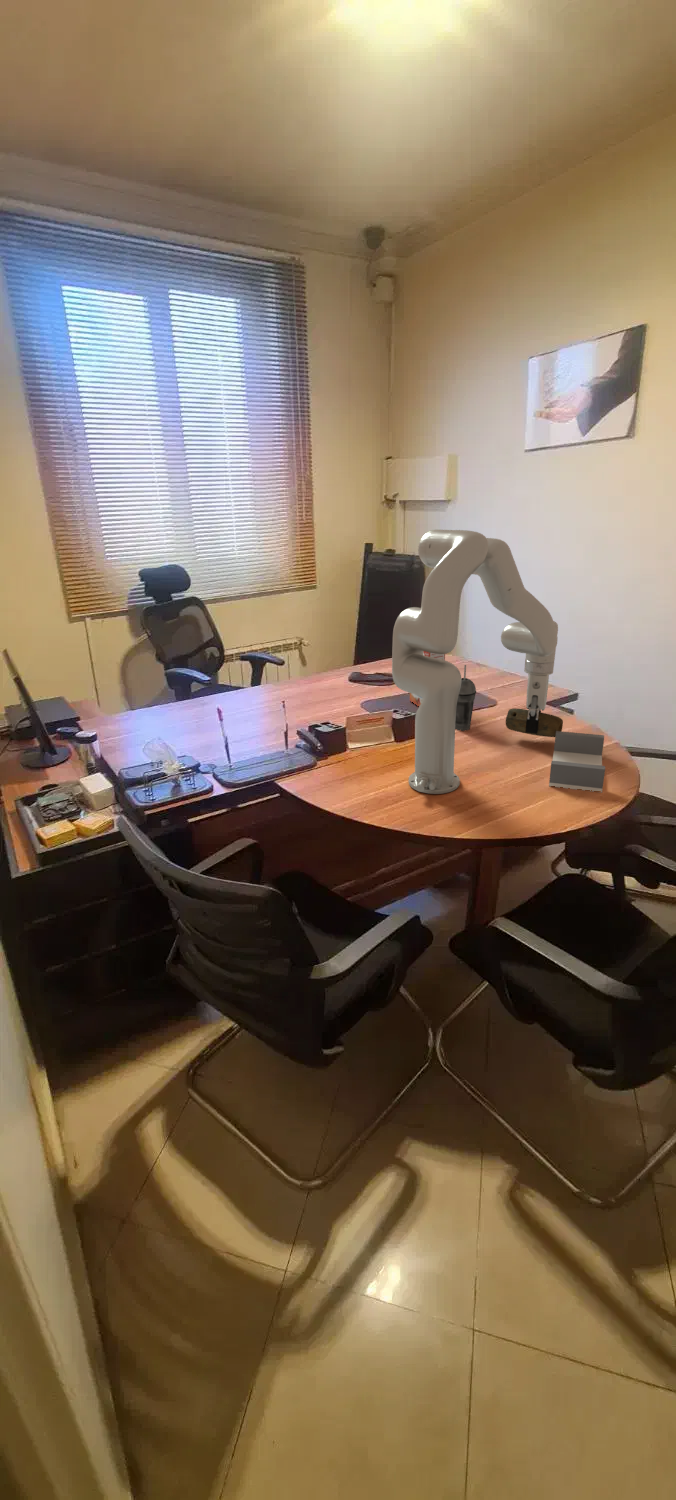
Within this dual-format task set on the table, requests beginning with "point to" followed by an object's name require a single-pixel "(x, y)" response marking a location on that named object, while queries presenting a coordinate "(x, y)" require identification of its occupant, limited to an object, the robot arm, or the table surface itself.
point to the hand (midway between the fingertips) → (532, 727)
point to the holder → (577, 761)
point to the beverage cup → (465, 703)
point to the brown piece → (545, 727)
